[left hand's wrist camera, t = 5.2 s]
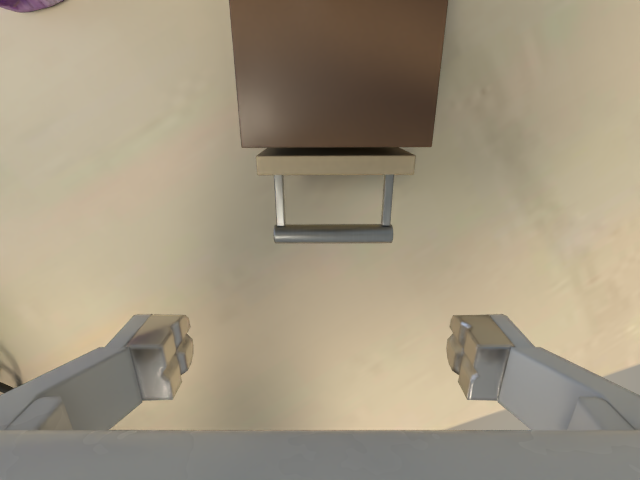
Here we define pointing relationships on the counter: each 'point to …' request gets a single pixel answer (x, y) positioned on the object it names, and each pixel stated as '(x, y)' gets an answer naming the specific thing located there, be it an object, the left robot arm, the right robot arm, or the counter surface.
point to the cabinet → (337, 71)
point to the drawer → (334, 163)
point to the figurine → (27, 4)
